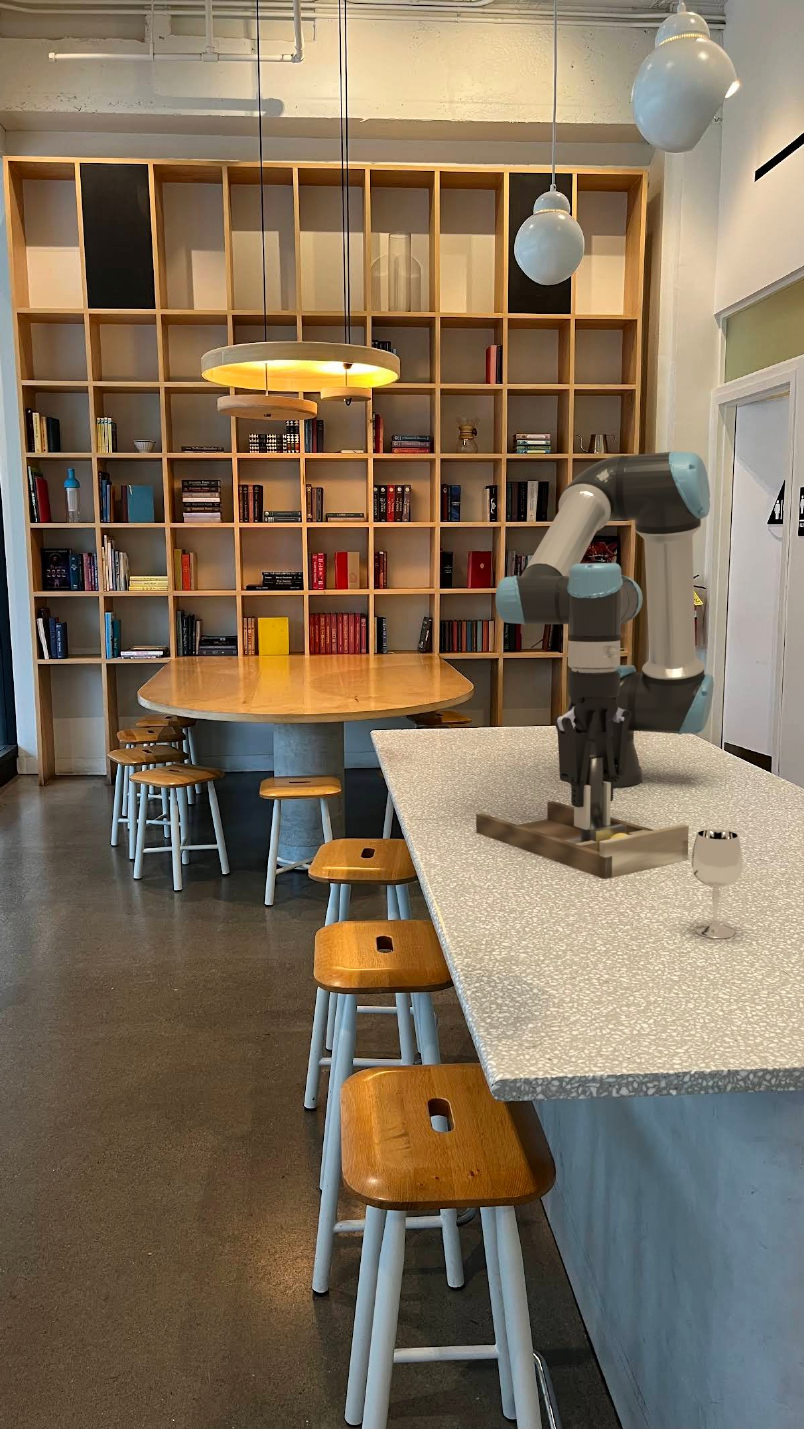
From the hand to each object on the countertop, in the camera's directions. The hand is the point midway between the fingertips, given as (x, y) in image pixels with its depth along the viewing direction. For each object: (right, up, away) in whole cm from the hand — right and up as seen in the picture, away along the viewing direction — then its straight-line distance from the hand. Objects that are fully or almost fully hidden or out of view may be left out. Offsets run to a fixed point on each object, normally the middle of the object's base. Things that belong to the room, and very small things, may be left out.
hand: (592, 825), depth 153 cm
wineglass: (+9, -10, -30) cm, 33 cm away
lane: (-2, -5, +4) cm, 6 cm away
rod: (0, -4, 0) cm, 4 cm away
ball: (+4, -2, -7) cm, 8 cm away
